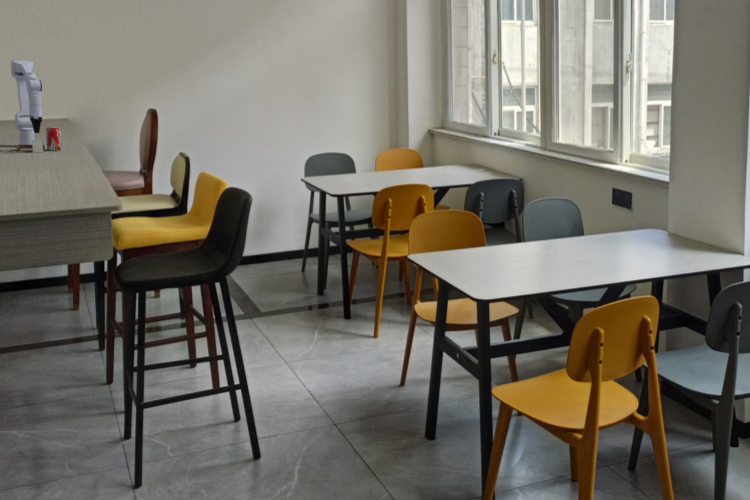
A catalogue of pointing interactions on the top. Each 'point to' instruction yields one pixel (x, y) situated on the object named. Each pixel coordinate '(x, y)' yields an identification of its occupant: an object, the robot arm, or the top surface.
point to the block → (37, 146)
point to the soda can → (53, 138)
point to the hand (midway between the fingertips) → (36, 132)
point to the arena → (26, 147)
